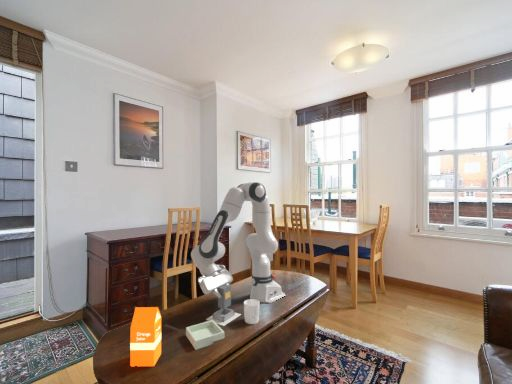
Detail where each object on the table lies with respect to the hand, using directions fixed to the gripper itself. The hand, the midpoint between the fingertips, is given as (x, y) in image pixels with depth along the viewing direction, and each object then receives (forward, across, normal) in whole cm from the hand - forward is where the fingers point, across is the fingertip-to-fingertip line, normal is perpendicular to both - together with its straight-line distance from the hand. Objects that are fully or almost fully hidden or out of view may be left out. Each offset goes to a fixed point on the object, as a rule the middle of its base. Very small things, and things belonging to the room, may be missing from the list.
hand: (225, 294), depth 130 cm
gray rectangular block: (+4, 0, +5) cm, 6 cm away
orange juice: (+5, -42, +12) cm, 44 cm away
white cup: (+18, +4, 0) cm, 19 cm away
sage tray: (+11, -19, +6) cm, 22 cm away
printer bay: (+8, -1, +9) cm, 12 cm away
